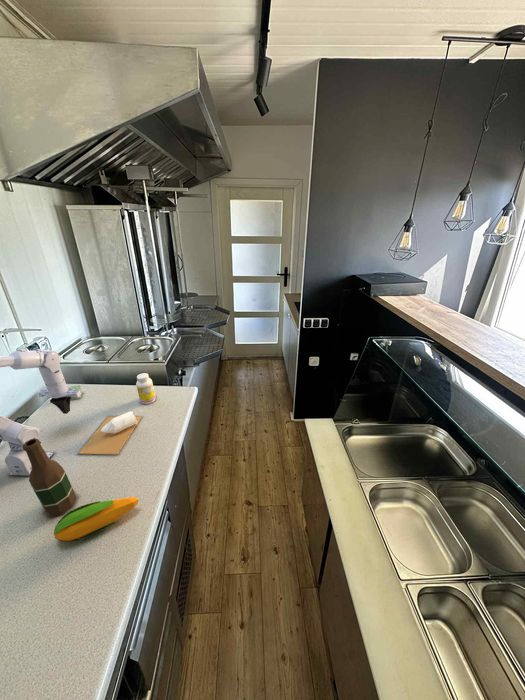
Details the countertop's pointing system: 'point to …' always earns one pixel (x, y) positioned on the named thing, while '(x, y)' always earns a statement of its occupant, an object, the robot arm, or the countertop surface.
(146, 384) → the supplement bottle
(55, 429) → the countertop surface
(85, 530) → the corn
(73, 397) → the block
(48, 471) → the beer bottle
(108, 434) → the mat
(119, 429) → the white radish
